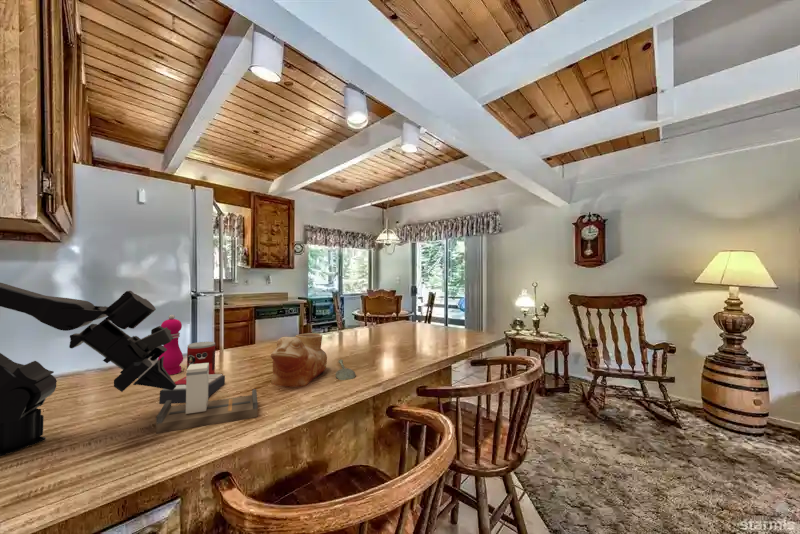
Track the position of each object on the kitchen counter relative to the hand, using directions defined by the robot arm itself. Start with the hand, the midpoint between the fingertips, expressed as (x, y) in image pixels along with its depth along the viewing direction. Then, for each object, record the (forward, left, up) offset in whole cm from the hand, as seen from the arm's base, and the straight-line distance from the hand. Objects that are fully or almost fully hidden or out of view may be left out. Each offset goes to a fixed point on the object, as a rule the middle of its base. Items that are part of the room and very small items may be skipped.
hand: (174, 388), depth 77 cm
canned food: (+28, +21, -8) cm, 36 cm away
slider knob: (+3, -4, -5) cm, 7 cm away
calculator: (+16, +11, -8) cm, 21 cm away
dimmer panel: (+5, -6, -8) cm, 11 cm away
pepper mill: (+29, +35, -8) cm, 46 cm away
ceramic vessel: (+37, -10, -8) cm, 39 cm away
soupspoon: (+48, -21, -8) cm, 53 cm away
